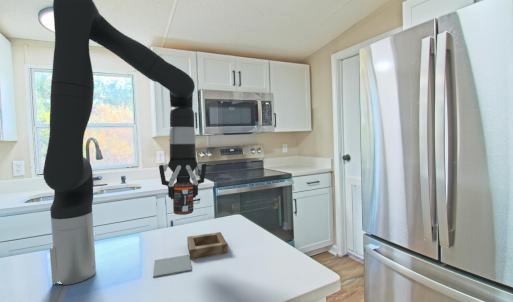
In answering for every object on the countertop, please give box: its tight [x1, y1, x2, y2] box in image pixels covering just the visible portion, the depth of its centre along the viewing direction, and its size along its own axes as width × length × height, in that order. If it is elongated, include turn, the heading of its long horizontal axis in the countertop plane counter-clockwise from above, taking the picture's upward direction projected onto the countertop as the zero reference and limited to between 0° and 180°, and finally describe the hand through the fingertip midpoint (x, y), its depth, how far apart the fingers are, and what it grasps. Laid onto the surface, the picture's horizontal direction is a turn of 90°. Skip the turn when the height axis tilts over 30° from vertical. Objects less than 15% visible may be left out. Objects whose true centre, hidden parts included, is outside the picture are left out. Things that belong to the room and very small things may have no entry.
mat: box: [152, 254, 193, 279], centre depth 78 cm, size 10×10×1 cm
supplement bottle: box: [172, 175, 195, 216], centre depth 82 cm, size 6×6×11 cm
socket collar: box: [186, 231, 229, 261], centre depth 89 cm, size 12×12×3 cm
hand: (183, 197), depth 82 cm, fingers closed on supplement bottle, 6 cm apart
